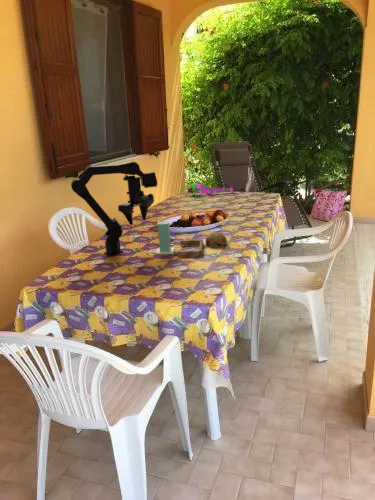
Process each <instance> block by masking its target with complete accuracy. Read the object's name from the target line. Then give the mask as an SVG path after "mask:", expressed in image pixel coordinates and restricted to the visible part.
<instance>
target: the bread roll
mask: <svg viewBox="0 0 375 500" xmlns="http://www.w3.org/2000/svg"><path fill="white" fill-rule="evenodd" d="M205 244H206V246H207V245H208V247H209V246H211V247H210V248H215V247H217V248H219V247H218V246H222V247H225V246H226V245H227V244H228V240H227V237H226V236H225V235H224V234H223V233H222V232H219V231H214V232H211V233H210V234H209V235H207V237H206V238H205ZM224 245H225V246H224ZM212 246H213V247H212Z"/></svg>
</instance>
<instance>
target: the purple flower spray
mask: <svg viewBox="0 0 375 500" xmlns="http://www.w3.org/2000/svg"><path fill="white" fill-rule="evenodd" d="M186 189H187V190H186V191H187V193H189V194H191V195H192V196H193V195H194V197H195V198H197V194H205V195H208V196H211V195H212V194H219V193H228V192H229V191H230V192H231V193H230V194H233V193H234V192H235V188H234V187H233V186H230V188H228V187H226V188H225V187H219V186H216V187H215V186H214V187H212V186H211V187H208V186H206V185H203V184H200V183H198V182H193V183H192V186H190V187H187V188H186Z"/></svg>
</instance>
